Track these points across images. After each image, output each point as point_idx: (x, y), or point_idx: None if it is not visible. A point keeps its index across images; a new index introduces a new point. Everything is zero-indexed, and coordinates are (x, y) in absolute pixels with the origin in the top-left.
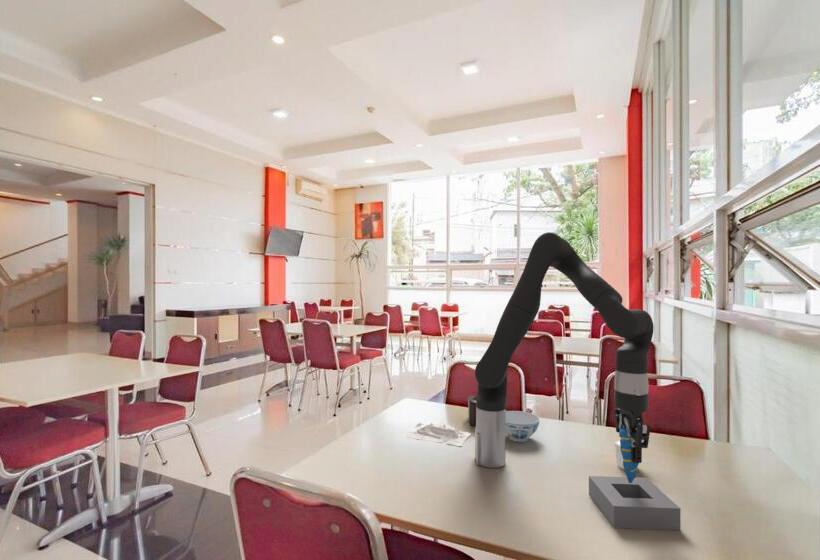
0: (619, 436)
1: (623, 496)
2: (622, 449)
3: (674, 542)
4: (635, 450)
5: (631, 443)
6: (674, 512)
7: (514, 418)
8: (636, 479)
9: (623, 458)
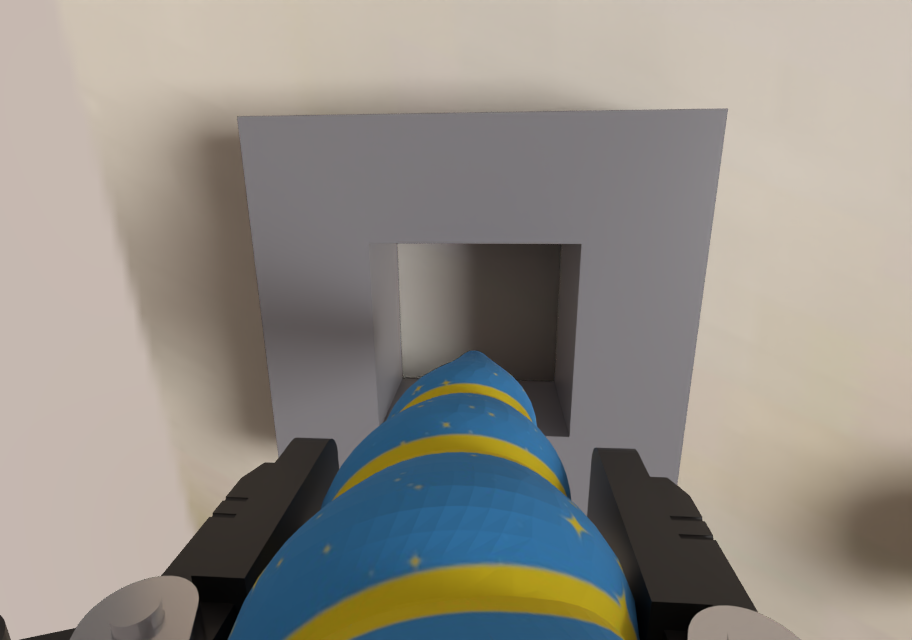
0: (761, 614)
1: (564, 313)
2: (457, 443)
3: (225, 374)
4: (164, 573)
5: (167, 633)
6: None
7: None
8: (645, 460)
9: (462, 393)
